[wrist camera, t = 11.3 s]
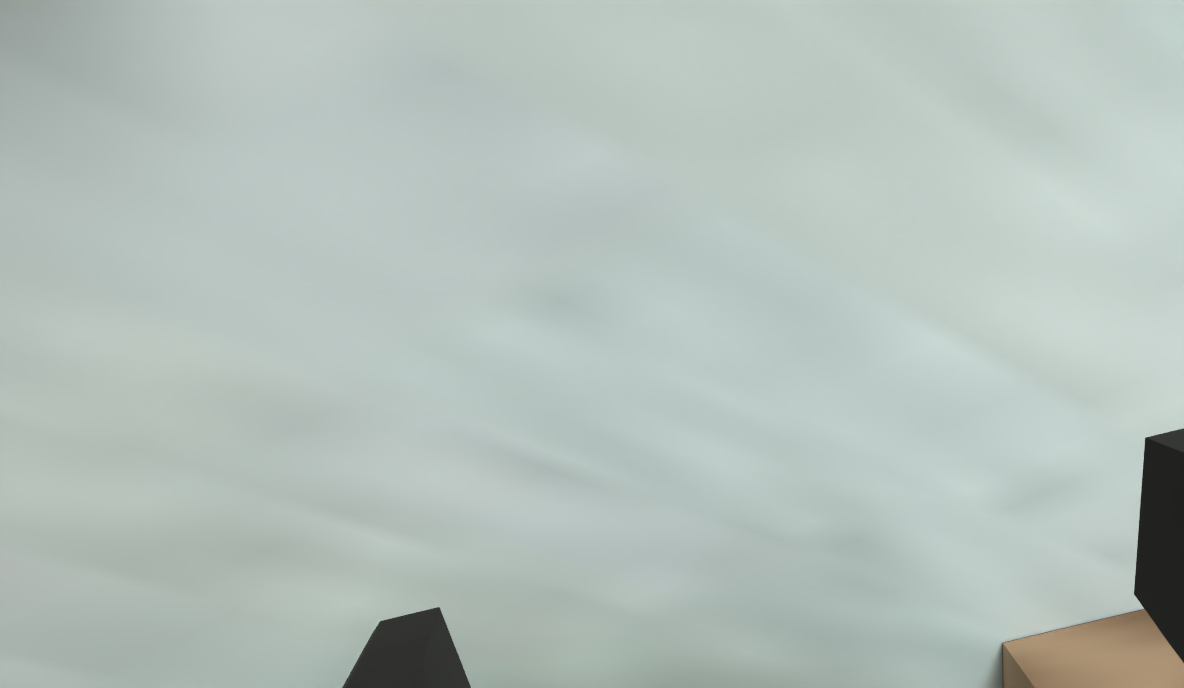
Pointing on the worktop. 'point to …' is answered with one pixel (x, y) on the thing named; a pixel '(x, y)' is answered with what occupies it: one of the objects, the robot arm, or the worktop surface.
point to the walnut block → (1095, 656)
